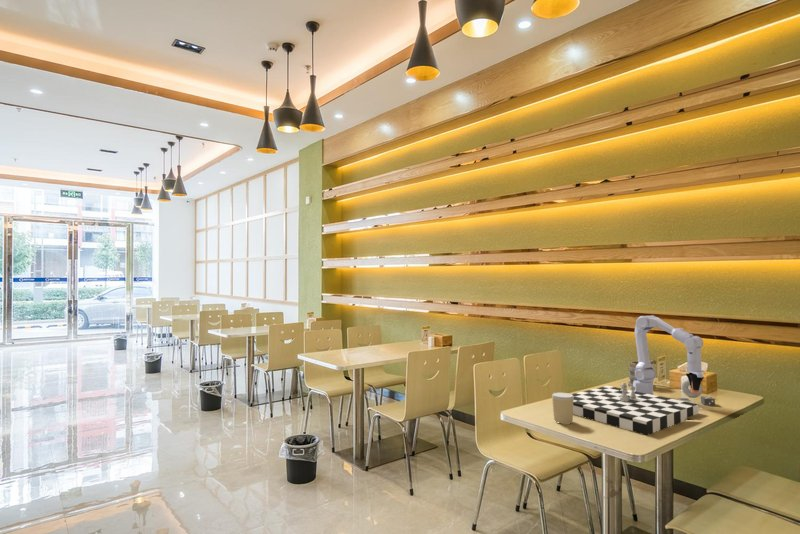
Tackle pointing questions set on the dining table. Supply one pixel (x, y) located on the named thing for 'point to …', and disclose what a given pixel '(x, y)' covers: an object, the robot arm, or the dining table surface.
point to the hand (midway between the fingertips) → (694, 389)
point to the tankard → (632, 371)
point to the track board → (688, 401)
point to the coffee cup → (563, 407)
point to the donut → (687, 392)
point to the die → (708, 401)
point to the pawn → (694, 391)
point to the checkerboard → (631, 408)
